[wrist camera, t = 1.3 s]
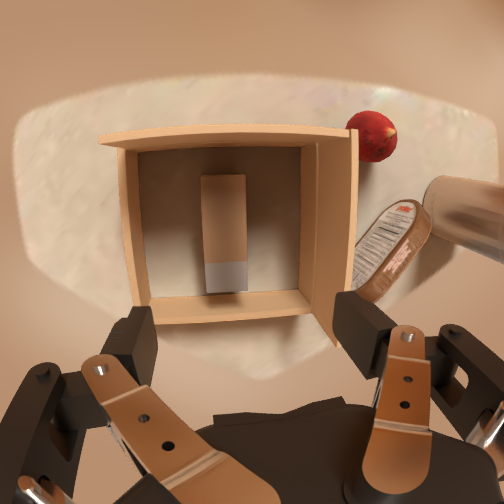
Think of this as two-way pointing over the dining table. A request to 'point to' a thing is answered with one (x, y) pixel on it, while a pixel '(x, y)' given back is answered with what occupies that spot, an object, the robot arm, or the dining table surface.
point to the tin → (389, 248)
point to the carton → (311, 220)
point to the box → (224, 232)
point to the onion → (373, 135)
